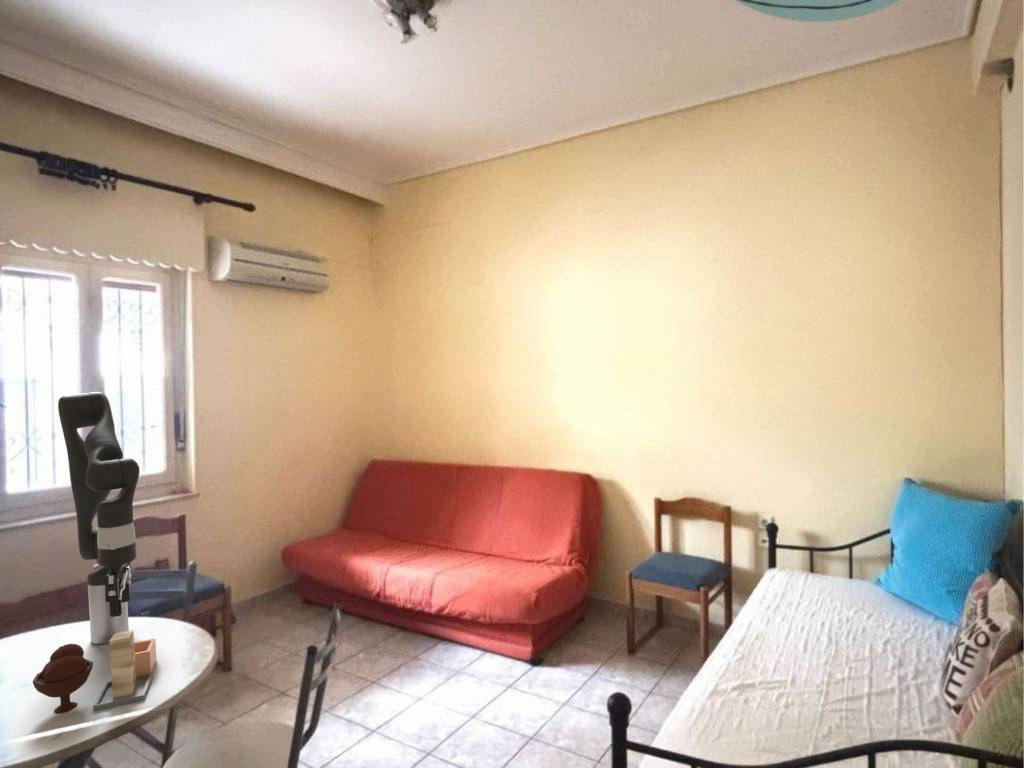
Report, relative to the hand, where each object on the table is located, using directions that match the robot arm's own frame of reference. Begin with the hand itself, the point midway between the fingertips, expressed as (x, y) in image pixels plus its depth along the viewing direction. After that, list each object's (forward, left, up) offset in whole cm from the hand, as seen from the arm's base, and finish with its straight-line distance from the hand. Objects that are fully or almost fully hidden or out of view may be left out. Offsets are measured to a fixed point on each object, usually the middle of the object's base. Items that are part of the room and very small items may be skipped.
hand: (120, 608), depth 137 cm
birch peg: (0, 0, -21) cm, 21 cm away
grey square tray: (0, 0, -22) cm, 22 cm away
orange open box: (-10, 0, -22) cm, 24 cm away
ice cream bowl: (+1, -12, -22) cm, 25 cm away
